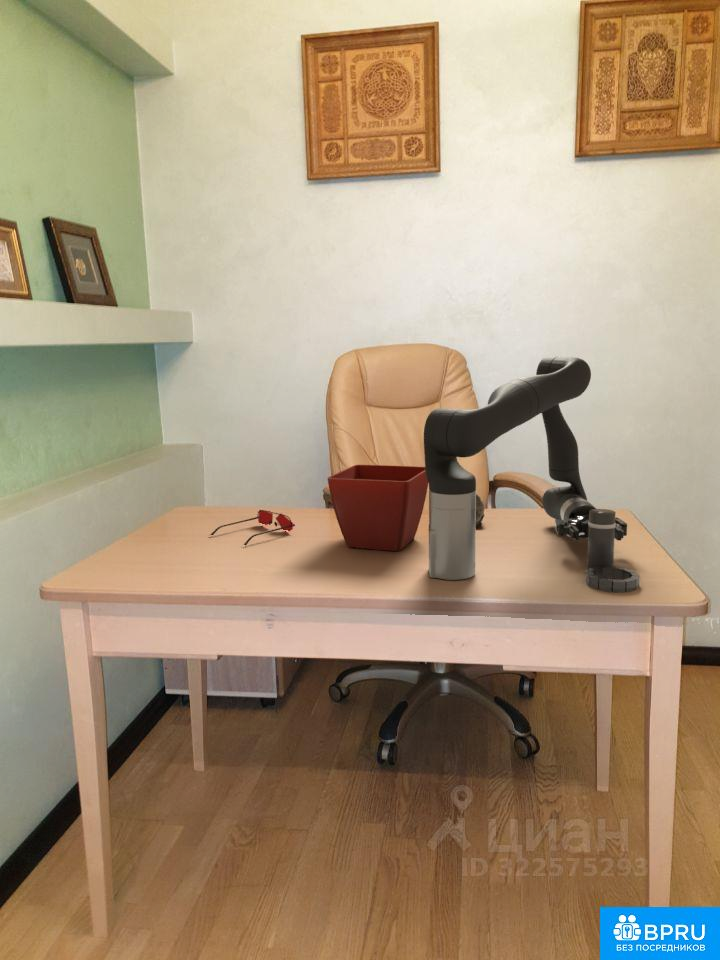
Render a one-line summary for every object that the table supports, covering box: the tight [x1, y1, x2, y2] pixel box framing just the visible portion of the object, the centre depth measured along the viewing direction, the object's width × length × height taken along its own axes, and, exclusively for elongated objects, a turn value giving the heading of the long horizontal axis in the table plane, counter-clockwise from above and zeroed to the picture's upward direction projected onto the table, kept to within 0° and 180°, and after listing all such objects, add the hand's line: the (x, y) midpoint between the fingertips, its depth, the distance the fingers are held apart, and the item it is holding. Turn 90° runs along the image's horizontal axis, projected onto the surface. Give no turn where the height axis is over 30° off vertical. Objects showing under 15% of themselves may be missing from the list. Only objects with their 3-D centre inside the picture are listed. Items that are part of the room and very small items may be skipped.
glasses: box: [210, 509, 296, 546], centre depth 184 cm, size 14×16×5 cm
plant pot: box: [327, 464, 429, 552], centre depth 174 cm, size 19×19×17 cm
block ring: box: [585, 565, 640, 593], centre depth 144 cm, size 9×9×2 cm
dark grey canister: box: [586, 508, 616, 570], centre depth 152 cm, size 5×5×12 cm
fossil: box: [476, 493, 485, 527], centre depth 191 cm, size 11×9×10 cm
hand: (598, 535), depth 154 cm, fingers open, 8 cm apart
